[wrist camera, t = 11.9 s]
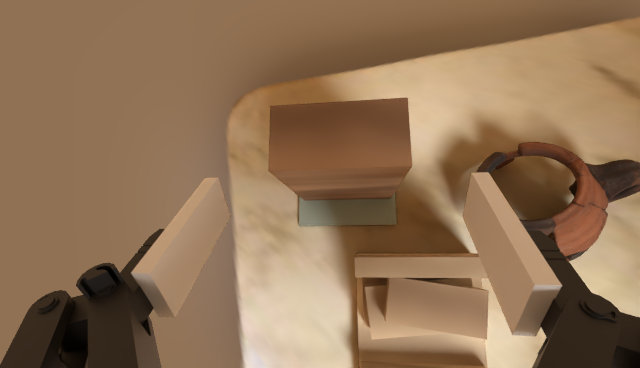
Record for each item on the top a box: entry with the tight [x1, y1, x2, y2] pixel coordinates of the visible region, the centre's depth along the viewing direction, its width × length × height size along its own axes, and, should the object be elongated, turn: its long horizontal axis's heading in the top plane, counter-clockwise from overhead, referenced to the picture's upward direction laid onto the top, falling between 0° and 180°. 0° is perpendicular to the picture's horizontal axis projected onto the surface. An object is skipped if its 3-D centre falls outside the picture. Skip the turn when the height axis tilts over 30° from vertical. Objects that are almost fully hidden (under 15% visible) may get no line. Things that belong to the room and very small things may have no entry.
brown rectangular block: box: [269, 98, 412, 201], centre depth 23 cm, size 4×8×12 cm, turn 90°
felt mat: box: [299, 192, 397, 226], centre depth 29 cm, size 9×9×1 cm
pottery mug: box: [476, 142, 640, 261], centre depth 25 cm, size 12×10×8 cm
